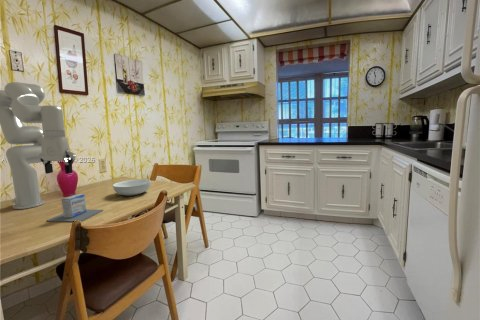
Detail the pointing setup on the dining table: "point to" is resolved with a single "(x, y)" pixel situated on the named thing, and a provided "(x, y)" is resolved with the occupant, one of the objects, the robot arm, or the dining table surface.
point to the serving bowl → (131, 187)
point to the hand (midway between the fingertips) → (59, 173)
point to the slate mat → (80, 217)
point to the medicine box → (74, 205)
